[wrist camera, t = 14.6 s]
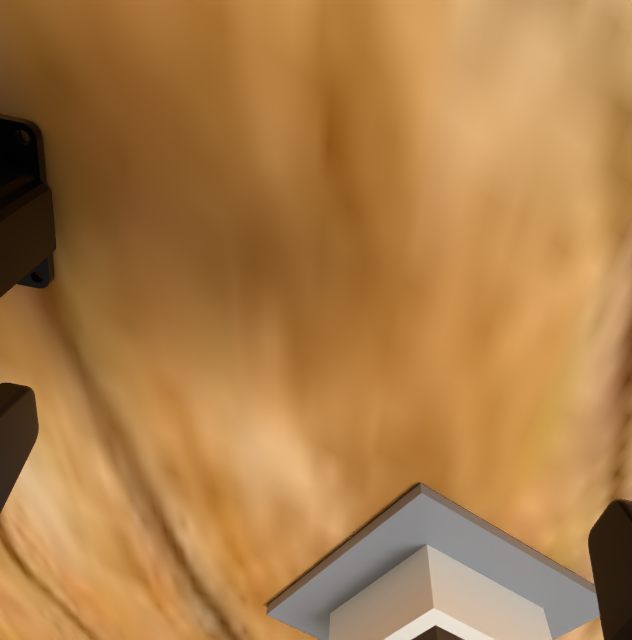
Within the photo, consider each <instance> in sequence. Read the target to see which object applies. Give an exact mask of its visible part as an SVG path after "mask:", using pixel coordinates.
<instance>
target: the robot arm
mask: <svg viewBox="0 0 632 640" xmlns="http://www.w3.org/2000/svg"><path fill="white" fill-rule="evenodd" d="M21 130H23V131H25V132H26V133H27V134H28V135H29V138H30V141H29V142H28V141H26V140H25V139H24V138H23V137H22V135H21ZM55 249H56V241H55V228H54V216H53V204H52V191H51V189H50V187H49V186H48V184H47V182H46V171H45V159H44V147H43V137H42V133H41V131H40V129H39V128H38V126H37V125H35V124H34V123H33V122H31V121H29V120H25V119H20V118H15V117H10V116H6V115H1V114H0V297H2V296H3V295H4V294H5V293H6V292H7V291H9V290H10V289H11V288H12V287H13V286H14V285H15V284H19V285H24V286H29V287H34V288H45V287H47V286H48V285H49V284H50V283H51V282H52V281H53V280H54V264H53V253H52V252H53V251H54V250H55ZM36 272H39V273H40V274H41V275H42V276H43V278H40V277H39V276H38V275H37V274H36ZM38 430H39V424H38V416H37V408H36V400H35V394H34V391H33V390H32V388H30V387H28V386H23V385H18V384H12V383H1V384H0V513H1V511H2V509H3V507H4V505H5V503H6V501H7V499H8V497H9V495H10V493H11V491H12V489H13V487H14V485H15V483H16V481H17V479H18V477H19V475H20V472H21V470H22V468H23V466H24V464H25V462H26V460H27V458H28V456H29V454H30V452H31V450H32V448H33V446H34V444H35V442H36V439H37V436H38ZM588 547H589V554H590V560H591V566H592V572H593V578H594V584H595V590H596V596H597V602H598V608H599V614H600V620H601V626H602V631H603V636H604V640H632V501H629V500H623V499H615V500H613V501H612V502H611V503H610V504H609V505H608V506H607V508H606V509H605V511H604V512H603V513H602V515H601V516H600V518H599V519H598V520H597V522H596V523H595V525H594V526H593V527H592V529H591V531H590V534H589V538H588Z"/></svg>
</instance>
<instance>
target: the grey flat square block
mask: <svg viewBox="0 0 632 640" xmlns="http://www.w3.org/2000/svg"><path fill="white" fill-rule="evenodd" d="M266 615H268V616H270V617H272V618H275V619H277V620H279V621H281V622H283V623H285V624H287V625H290V626H292V627H294V628H296V629H298V630H300V631H302V632H305V633H307V634H309V635H311V636H313V637H315V638H318V639H320V640H412V639H413V638H415V637H417V636H418V635H420V634H422V633H423V632H425V631H427V630H428V629H430V628H431V627H433V626H435V625H437V626H438V627H440V628H442V629H444V630H446V631H448V632H450V633H452V634H454V635H456V636H458V637H460V638H462V639H464V640H554V639H556V638H558V637H560V636H562V635H564V634H566V633H568V632H570V631H572V630H574V629H576V628H578V627H580V626H581V625H583V624H585V623H587V622H589V621H591V620H593V619H595V618H597V617H599V616H600V614H599V608H598V602H597V596H596V590H595V585H593V584H592V583H590V582H588V581H587V580H585V579H583V578H581V577H580V576H578V575H576V574H575V573H573V572H571V571H570V570H568V569H566V568H564V567H563V566H561V565H559V564H558V563H556V562H554V561H552V560H551V559H549V558H547V557H546V556H544V555H542V554H541V553H539V552H537V551H535V550H534V549H532V548H530V547H529V546H527V545H525V544H523V543H522V542H520V541H518V540H517V539H515V538H513V537H512V536H510V535H508V534H506V533H505V532H503V531H501V530H500V529H498V528H496V527H494V526H493V525H491V524H489V523H488V522H486V521H484V520H483V519H481V518H479V517H477V516H476V515H474V514H472V513H471V512H469V511H467V510H465V509H464V508H462V507H460V506H459V505H457V504H455V503H454V502H452V501H450V500H448V499H447V498H445V497H443V496H442V495H440V494H438V493H437V492H435V491H433V490H431V489H430V488H428V487H426V486H425V485H423V484H421V483H420V484H419V485H418V486H416V487H415V488H414V489H413V490H411V491H410V492H409V493H408V494H406V495H405V496H404V497H403V498H401V499H400V500H399V501H398V502H396V503H395V504H394V505H393V506H391V507H390V508H389V509H388V510H386V511H385V512H384V513H383V514H381V515H380V516H379V517H378V518H376V519H375V520H374V521H373V522H371V523H370V524H369V525H368V526H366V527H365V528H364V529H363V530H361V531H360V532H359V533H357V534H356V535H355V536H354V537H352V538H351V539H350V540H349V541H347V542H346V543H345V544H344V545H342V546H341V547H340V548H339V549H337V550H336V551H335V552H334V553H332V554H331V555H330V556H329V557H327V558H326V559H325V560H324V561H322V562H321V563H320V564H319V565H317V566H316V567H315V568H314V569H312V570H311V571H310V572H309V573H307V574H306V575H305V576H304V577H302V578H301V579H300V580H299V581H297V582H296V583H295V584H294V585H292V586H291V587H290V588H289V589H287V590H286V591H285V592H284V593H282V594H281V595H280V596H279V597H277V598H276V599H275V600H274V601H272V602H271V603H270V604H269V605H268V608H267V614H266Z"/></svg>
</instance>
